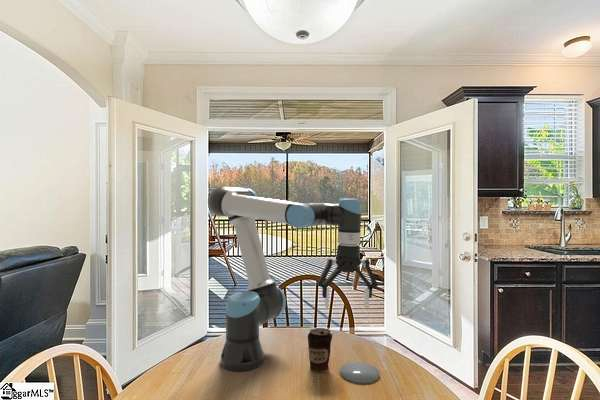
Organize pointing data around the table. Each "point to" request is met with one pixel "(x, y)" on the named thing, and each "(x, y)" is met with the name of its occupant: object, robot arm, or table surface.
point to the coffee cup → (319, 349)
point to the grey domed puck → (359, 372)
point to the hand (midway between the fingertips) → (346, 307)
